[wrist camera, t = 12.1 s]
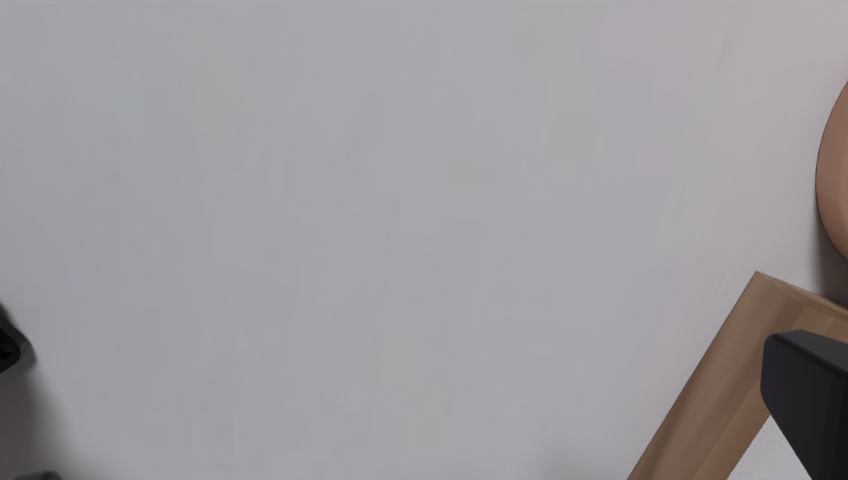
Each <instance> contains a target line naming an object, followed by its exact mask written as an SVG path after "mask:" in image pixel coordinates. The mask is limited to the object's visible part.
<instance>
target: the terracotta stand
mask: <svg viewBox="0 0 848 480" xmlns="http://www.w3.org/2000/svg"><path fill="white" fill-rule="evenodd" d="M816 193H817V201H818V208H819V212H820V216H821V219H822V222H823V226H824V228H825V230H826V232H827V234H828V236H829V238H830V240H831V241H832V243H833V244H834V246H835V247H836V248H837V250H838V251H839V253H840V254H842V255H843V256H844V257H845V258H846V259H847V260H848V82H847V84H846V85H845V87H844V88H843V90H842V92H841V94H840V96H839V98H838V100H837V102H836V104H835V106H834V108H833V110H832V113H831V115H830V118H829V121H828V123H827V126H826V129H825V131H824V135H823V139H822V143H821V147H820V151H819V156H818V164H817V171H816Z"/></svg>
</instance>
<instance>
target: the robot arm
mask: <svg viewBox="0 0 848 480" xmlns="http://www.w3.org/2000/svg"><path fill="white" fill-rule="evenodd" d="M0 344H5V345H7V346H9V347H10V349H11V350H12V351H11V352H5V351H3V350H1V349H0V373H2V372H3V371H5V370H6V369H8V368H9V367H11V366H12V365H14V364H15V363H16V362H17V361H18V360H19V359H20V358H21V356H22V355H23V353H24V352H25V349H26V342H25V339H24V338H23V337H22V335H21V334H20V333H19V332H18V331H16V330H15V329H14V328H13V327H12V326H11V325H10V324H9V323H8V322H7V321H6V320H5V319H4V318H3V317H2V316H0ZM760 393H761V397H762V400H763V402H764V404H765V406H766V408H767V409H768V411H769V412H770V414H771V415H772V417H773V419H774V420H775V422H776V423H777V425H778V427H779V428H780V430H781V431H782V433H783V435H784V436H785V438H786V439H787V441H788V442H789V444H790V446H791V447H792V449H793V450H794V452H795V454H796V455H797V457H798V458H799V460H800V461H801V463H802V465H803V466H804V468H805V469H806V471H807V473H808V474H809V476H810V477H811V479H812V480H848V343H846V342H842V341H839V340H836V339H833V338H829V337H826V336H823V335H820V334H816V333H813V332H810V331H807V330H803V329H790V330H785V331H780V332H774V333H771V334H769V335H768V336H767V337H766V338H765V341H764V344H763V353H762V364H761V375H760ZM14 480H62V478H61V477H60V475H59V474H58V473H57V472H55V471H52V470H47V471H41V472H36V473H31V474H25V475H21V476H19V477H16V478H15V479H14Z"/></svg>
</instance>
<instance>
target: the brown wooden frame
mask: <svg viewBox="0 0 848 480" xmlns="http://www.w3.org/2000/svg"><path fill="white" fill-rule="evenodd" d="M790 329H803V330H807V331H810V332H813V333H816V334H820V335H823V336H826V337H829V338H833V339H836V340H839V341H842V342H846V343H848V306H845V305H843V304H840V303H838V302H835V301H832V300H830V299H827V298H825V297H822V296H819V295H817V294H814V293H812V292H809V291H806V290H804V289H801V288H799V287H796V286H793V285H791V284H788V283H786V282H783V281H780V280H778V279H775V278H773V277H770V276H767V275H765V274H762V273H760V272H757V271H756V273H755V274H754V276H753V278H752V279H751V281H750V282H749V284H748V286H747V287H746V289H745V291H744V292H743V294H742V295H741V297H740V299H739V300H738V302H737V303H736V305H735V307H734V308H733V310H732V312H731V313H730V315H729V316H728V318H727V320H726V321H725V323H724V324H723V326H722V328H721V329H720V331H719V333H718V334H717V336H716V337H715V339H714V341H713V342H712V344H711V345H710V347H709V349H708V350H707V352H706V354H705V355H704V357H703V358H702V360H701V362H700V363H699V365H698V366H697V368H696V370H695V371H694V373H693V375H692V376H691V378H690V379H689V381H688V383H687V384H686V386H685V387H684V389H683V391H682V392H681V394H680V396H679V397H678V399H677V400H676V402H675V404H674V405H673V407H672V408H671V410H670V412H669V413H668V415H667V417H666V418H665V420H664V421H663V423H662V425H661V426H660V428H659V429H658V431H657V433H656V434H655V436H654V438H653V439H652V441H651V442H650V444H649V446H648V447H647V449H646V450H645V452H644V454H643V455H642V457H641V459H640V460H639V462H638V463H637V465H636V467H635V468H634V470H633V472H632V473H631V475H630V476H629V478H628V480H727V478H728V477H729V475H730V474H731V472H732V471H733V469H734V468H735V466H736V465H737V463H738V462H739V460H740V459H741V457H742V456H743V454H744V453H745V451H746V450H747V448H748V447H749V445H750V444H751V443H752V441H753V440H754V438H755V437H756V435H757V434H758V432H759V431H760V429H761V428H762V426H763V425H764V423H765V422H766V420H767V419H768V417H769V416H770V412H769V411H768V409H767V408H766V406H765V404H764V402H763V400H762V397H761V393H760V375H761V364H762V353H763V344H764V341H765V338H766V337H767V336H768V335H769V334H771V333H774V332H780V331H785V330H790Z"/></svg>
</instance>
